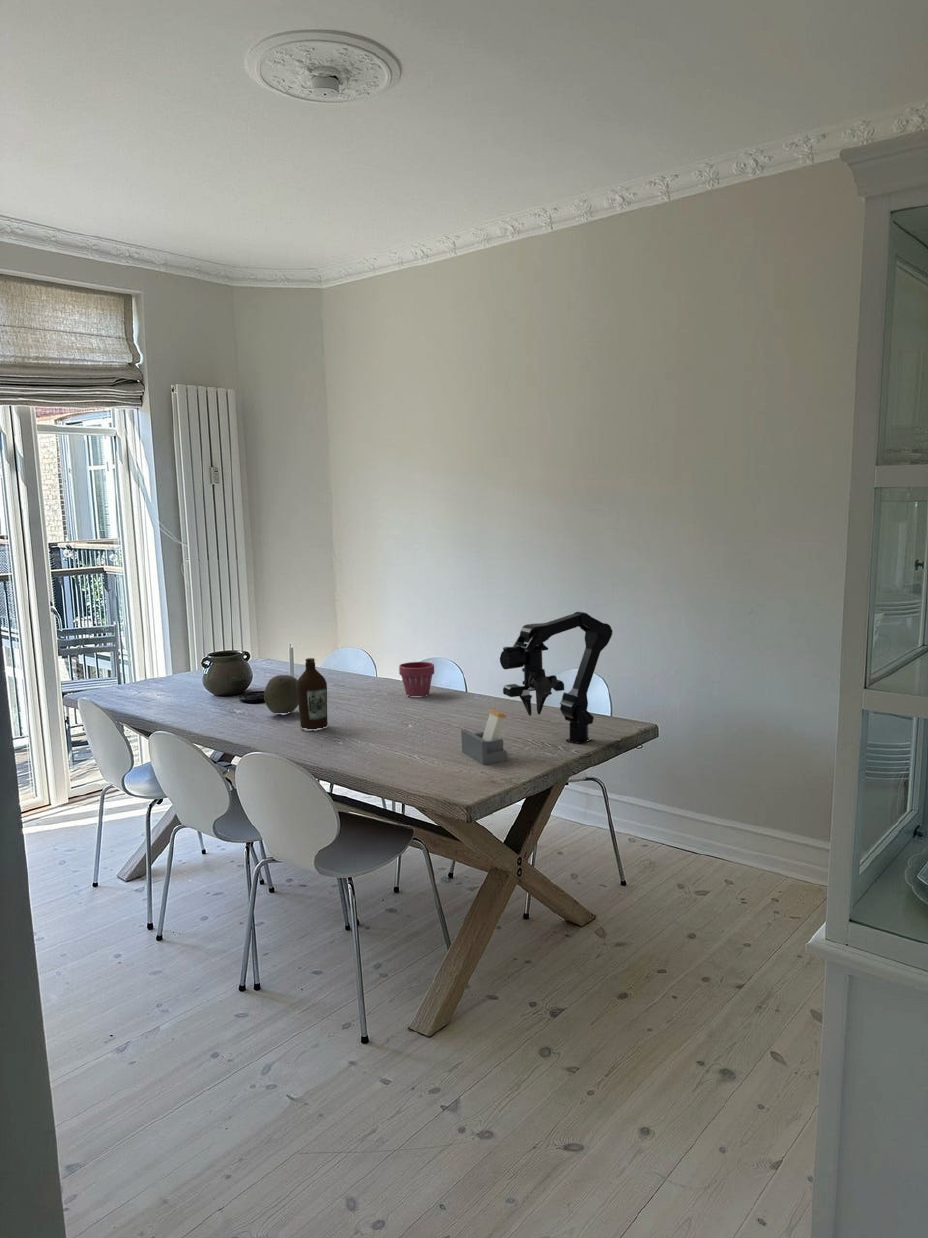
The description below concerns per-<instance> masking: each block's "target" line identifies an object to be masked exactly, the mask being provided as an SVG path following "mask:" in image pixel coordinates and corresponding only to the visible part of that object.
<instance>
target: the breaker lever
mask: <svg viewBox="0 0 928 1238" xmlns="http://www.w3.org/2000/svg"><path fill="white" fill-rule="evenodd" d="M488 712H489V716H488V719H487V722H486V725H485V729H484V731H483V732H484V734H483V737H482V739H484V740H485V741H488V740H495V739H499V735H500V733H501V729H502V726H503V722H504V720H505V719H506V718H507V714H505V713H504V712H501V711H499V710H496V709H493V708H489V711H488Z"/></svg>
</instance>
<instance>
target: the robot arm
mask: <svg viewBox="0 0 928 1238" xmlns="http://www.w3.org/2000/svg"><path fill="white" fill-rule="evenodd" d="M576 628H580V630H581V631H583V632H584V643H585V648H584V652H583V654H582V657H581V659H580V660H581V661H580V663H579V667H578V670H577V672H576V675H575V679H574V682H573V685H572V688H571V690H569V692H563V694H562V698H561V701H560V702H559V705H560V707H559V710H560V712H561V714H562V715H563V717H564V719H565V721H568V722H569V737H568V738H566V739H565V741H566V742H567V741H573V742H572V743H574V742H580V743H584V742H586V741H587V740H589V737H590V736H589V725H591V724H593V722H594V719H595V718H594V716H593V715H592V714H591V713H590V712H589V711H588V706H589V700H588V691H589V688H590V684H591V682H592V679H593V676H594V672H595V670H596V666H597V663H598V662H599V661H598V660H599V658H600V654H601V652H602V651H603V649H605V647H607V645H608V644H609V642H610V640H611V639H612V636H613V629H612V627H611V626H610V624H608V623H604V622H602V621H600V620H599V619H596V618H594V617H592V616H591V615H590V614H588V613H587V612H584V611H576V612H573V613H571V614H568V615H566V616H562V617H559V618H557V619H554V620H550V621H548V622H543V623H542V622H541V623H528V624H524V625H523V626H521V629H520V632H519V635H518V636H517V638H516V640H515V641H514V643H513V646H503V648H502V651H501V653H500V657H499V663H500V666H501V667H502V669H503V670H511V669H519V668H521V671H522V672H523V679H524V680H522V685H521V686H520V685H518V684H516V683H511V684H505V685H504V686H503V688H502V694H503V695H505V696H507V697H509V698H517V697H519V698H520V700H521V701H522V703H523V706H524V709H525V710H526V713H527V715H528V716H529V717H530V716H532V698H533V695H532V694H530V692H534V691H535V701H536V712H537V715H541V713H542V712H543V707H544V704H545V701H546V700H547V698H548V697H549V696H550V695H552V694H553V692H552V690H554V691H555V692H562V691H565V684H564V682H563V680H560V679H558V678H557V676H556V675H555V674H553V675H549V676H547V675H546V671H545V668H543V651H548V650H549V647H547V646H546V645H545V642H547V641H549V639H550V638H551V637H553V636H554V635H558V634H560V633H563V632H567V631H569V630H572V629H576ZM580 743H579V744H580ZM586 743H587V742H586ZM584 744H585V743H584Z"/></svg>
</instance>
